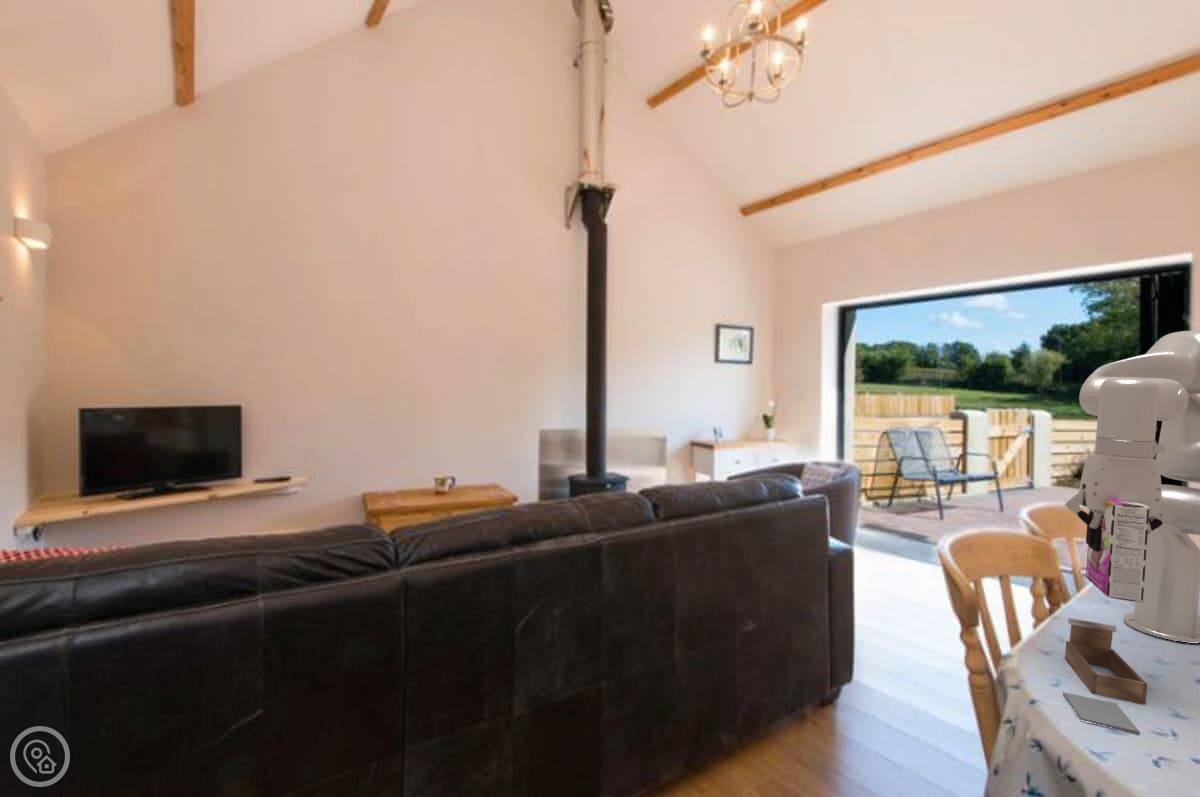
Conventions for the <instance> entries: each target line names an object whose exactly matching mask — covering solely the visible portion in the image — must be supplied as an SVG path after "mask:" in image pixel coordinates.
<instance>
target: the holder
mask: <svg viewBox="0 0 1200 797" xmlns="http://www.w3.org/2000/svg"><path fill="white" fill-rule="evenodd" d="M1067 624H1068V625H1070V631H1069V632H1070V634H1069V640H1065V650H1064V651H1065V652H1064V660H1065V661H1066V662H1067V664H1068V665H1069V666H1070V667H1071V668H1072V670H1073V671H1074V672H1075V674H1076V676H1077V677H1078V678H1079V679H1080V680H1081V682H1082V683H1083V684H1084V686H1086V688H1087V689H1088V690H1089V692H1090V693H1091V694H1092V695H1098V696H1103V697H1106V698H1107V697H1108V698H1111V699H1116V700H1122V701H1126V702H1131V703H1135V704H1139V705H1147V703H1146V702H1147V695H1148V694H1147V692H1148V683H1147V682H1146V681H1145V680H1144V679H1143V678H1142V676H1140V675H1139V674H1138V673H1137V672H1136V671H1135V670H1134V669H1133V668H1132V667H1131V666H1130V665H1129V664H1128V663H1127V662H1126V661H1125V660H1124V659H1123V658H1122V657H1121V656H1120V655H1119V654H1118V653H1117V652H1116V651H1115V650H1114V649H1112V641H1113V632H1114V633H1117V628H1118V627H1117V626H1116V625H1112V624H1107V623H1102V622H1096V621H1088V620H1084V619H1077V618H1072V617H1068V618H1067ZM1092 666H1095V667H1101V668H1104V669H1105V668H1106V669H1109V670H1110V671H1111V672H1112V673H1113V675H1115V676H1113V675H1109V674H1104V673H1099V672H1096V671H1095V670H1094V668H1093V667H1092Z"/></svg>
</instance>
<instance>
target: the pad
mask: <svg viewBox="0 0 1200 797" xmlns="http://www.w3.org/2000/svg"><path fill="white" fill-rule="evenodd" d="M1062 695H1063V697H1064V699H1065V698H1066V699H1065V700H1066V702H1067V701H1068V702H1069V703H1070V704H1069V703H1068V702H1067V703H1068V704H1069V706H1070V705H1071V706H1072V707H1071V706H1070V707H1071V708H1073V709H1074V710H1075V712H1076V713H1077V715H1078V716H1079V718H1080V719H1081V720H1084V721H1089V722H1092V723H1096V724H1100V725H1105V726H1107V727H1106V728H1108V727H1112V728H1115V729H1114V730H1116V729H1119V730H1118V731H1121V730H1122V731H1121V732H1125V731H1126V733H1130V734H1135V735H1139V736H1140V734H1141V731H1140V730H1139V729H1138V728H1137V727H1136V725H1135V724H1134V723H1133V722H1132V721H1131V719H1130V718H1129V716H1127V714H1126V713H1125V712H1124V711H1123V709H1122V708H1121V707H1120V706H1119V705H1118V703H1116V702H1111V701H1107V700H1102V699H1097V698H1092V697H1088V696H1083V695H1080V694H1074V693H1069V692H1064V691H1063V692H1062ZM1073 709H1072V710H1073ZM1074 710H1073V711H1074ZM1075 712H1074V713H1075ZM1076 713H1075V714H1076ZM1077 715H1076V716H1077ZM1078 716H1077V717H1078ZM1079 718H1078V719H1079ZM1080 719H1079V720H1080ZM1112 728H1111V729H1112Z"/></svg>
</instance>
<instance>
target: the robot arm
mask: <svg viewBox="0 0 1200 797" xmlns="http://www.w3.org/2000/svg"><path fill="white" fill-rule="evenodd" d="M1198 394H1199V395H1200V330H1182V331H1175V332H1172V333H1171V332H1170V333H1168V334H1166V335H1163V336H1162V337H1160V338H1159V339H1158V340H1157V341H1156V342H1154V344H1153V345H1152V346H1151V347H1150V348H1149V349H1148V350H1147V351H1146V353H1144V354H1140V355H1136V356H1133V357H1128V358H1125V359H1121V360H1117V361H1114V362H1110V363H1107V364H1104V365H1101V366H1100V367H1098V368H1097V369H1095V370H1094V371H1093V372H1092V373H1091V374H1090V375H1089V376H1088V377H1087V378H1086V379H1085V381H1084V383H1083V384H1082V386H1081V388H1080V391H1079V397H1078V398H1079V399H1078V400H1079V405H1080V407H1081V408H1082V410H1083V411H1084V412H1085V413H1087V414H1088V415H1091V416H1096V417H1097V421H1096V432H1095V436H1096V437H1095V443H1094V444H1095V446H1094V453H1088V454H1087V457H1086V459H1085V462H1084V466H1083V469H1082V474H1081V479H1080V483H1079V489H1078V492H1077V493H1076V494H1075V495H1074V496H1073V497H1071V498H1069V500H1067V501H1066V502H1065V504H1064V506H1065V507H1066V508H1067V509H1068V510H1070V511H1071V512H1072V513H1073V514H1075V515H1076V516H1077V518H1079V519H1080V520H1081V521H1082V522H1084V524H1086V534H1085V536H1086V537H1085V543H1086V544H1087V546H1088V545H1089V547H1090V548H1091V549H1093V550H1094V551H1097V552H1099V551H1100V550H1101V538H1102V530H1101V529H1099V525H1100V522H1101V520H1102V518H1103V513H1104V512H1105V508H1106V503H1107V500H1116V501H1128V502H1137V503H1142V504H1144V505H1146V506H1148V507H1150V509H1149V519H1148V537H1147V551H1146V564H1145V580H1144V593H1143V603H1141V602H1134V608H1133V609H1134V610H1133V611H1134V612H1128V613H1125V614H1124V615H1123V622H1125V624H1126V625H1127V626H1129V627H1131V628H1132V629H1134V630H1136V631H1139V632H1142V633H1144V634H1146V633H1147V635H1149V634H1150V635H1149V636H1152V635H1153V637H1155V636H1157V637H1156V638H1159V637H1161V638H1160V639H1162V638H1164V639H1163V640H1166V639H1170V640H1169V641H1171V640H1177V641H1185V642H1198V641H1200V616H1199V615H1198V612H1199V603H1200V548H1199V546H1198V545H1197V543H1195V541H1194V540H1193V539H1192V538H1191V537H1190V535H1193V536H1194V535H1196V536H1200V488H1196V487H1188V486H1181V485H1175V484H1162V478H1161V476H1163V477H1164V478H1168V479H1171V480H1176V481H1182V482H1188V483H1196V484H1200V396H1199V395H1198ZM1157 421H1158V422H1159V421H1161V428H1160V433H1159V438H1158V444H1157V441H1156V433H1157V432H1156V431H1157ZM1155 457H1156V458H1155ZM1080 506H1083V507H1086V508H1087V509H1088V512H1086V511H1085V510H1083V509H1082V508H1081V507H1080Z"/></svg>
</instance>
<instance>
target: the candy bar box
mask: <svg viewBox="0 0 1200 797" xmlns="http://www.w3.org/2000/svg"><path fill="white" fill-rule="evenodd" d="M1149 509H1150V507H1148V506H1146V505H1144V504H1142V503H1137V502H1128V501H1116V500H1107V503H1106V508H1105V512H1104V513H1103V518H1102V520H1101V522H1100V525H1099V529H1101V530H1102V538H1101V550H1100V551H1099V552H1097V551H1094V550H1093V549H1091V548H1090V547H1089V545H1088V544H1087V552H1086V554H1087V555H1086V556H1087V557H1086V570H1085V578H1086V579H1087V580H1088V581H1089V582H1090V583H1091V584H1093V585H1094V586H1095V587H1096V588H1097V589H1098V590H1099V591H1101V593H1103V594H1104V595H1105V596H1106V597H1107V598H1109V599H1110V598H1111V599H1115V600H1120V601H1121V600H1122V601H1127V602H1134V603H1135V602H1141V603H1143V593H1144V580H1145V564H1146V551H1147V537H1148V519H1149Z"/></svg>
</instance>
